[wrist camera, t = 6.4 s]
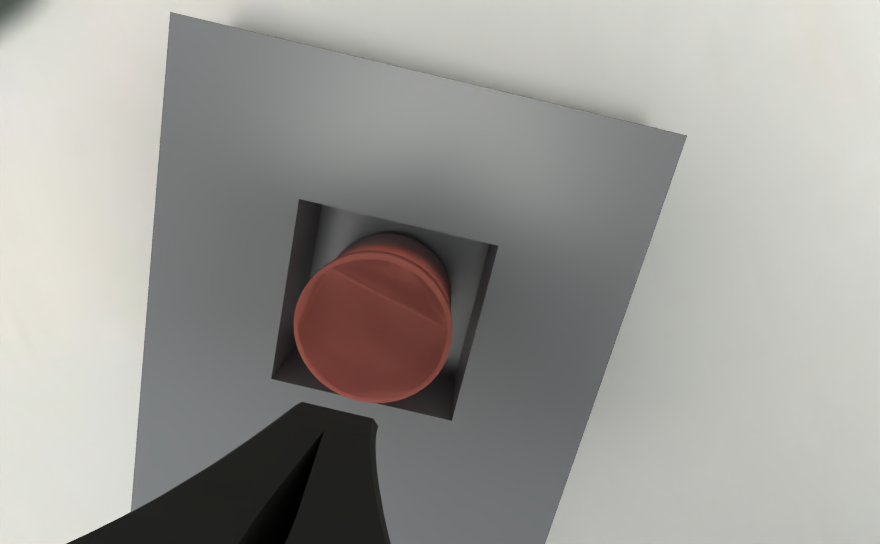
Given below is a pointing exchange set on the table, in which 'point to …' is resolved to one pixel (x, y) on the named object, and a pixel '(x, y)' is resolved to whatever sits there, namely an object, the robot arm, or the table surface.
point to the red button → (376, 320)
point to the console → (402, 213)
